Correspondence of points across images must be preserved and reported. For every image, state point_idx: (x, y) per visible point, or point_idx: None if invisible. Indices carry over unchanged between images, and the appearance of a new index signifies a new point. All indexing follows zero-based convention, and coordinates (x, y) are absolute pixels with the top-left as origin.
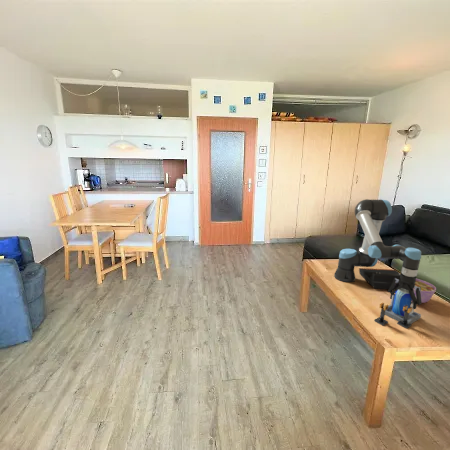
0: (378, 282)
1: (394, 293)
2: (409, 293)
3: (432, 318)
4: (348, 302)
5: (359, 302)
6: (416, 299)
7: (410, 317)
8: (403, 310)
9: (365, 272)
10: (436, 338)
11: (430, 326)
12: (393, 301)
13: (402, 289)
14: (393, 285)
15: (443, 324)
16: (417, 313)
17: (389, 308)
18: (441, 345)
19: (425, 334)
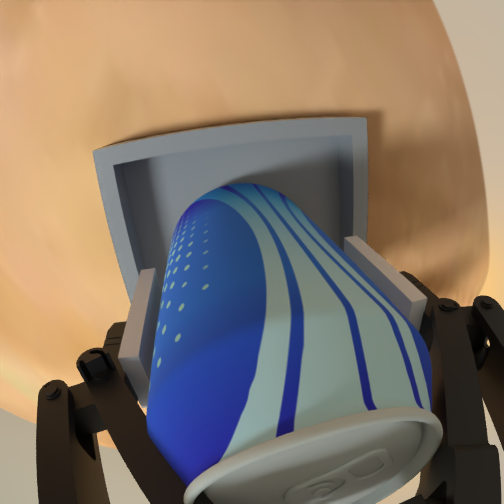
0: None
1: (123, 382)
2: (414, 462)
3: (386, 30)
4: (26, 406)
5: (21, 361)
6: (466, 337)
7: (311, 200)
8: None
9: None
10: (465, 263)
11: (426, 168)
12: (157, 315)
13: (257, 490)
14: None
15: (449, 58)
16: (341, 129)
17: (141, 261)
18: (480, 291)
19: (429, 285)
